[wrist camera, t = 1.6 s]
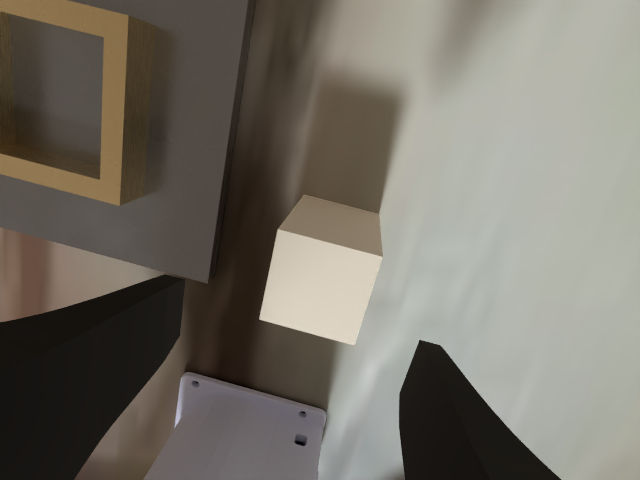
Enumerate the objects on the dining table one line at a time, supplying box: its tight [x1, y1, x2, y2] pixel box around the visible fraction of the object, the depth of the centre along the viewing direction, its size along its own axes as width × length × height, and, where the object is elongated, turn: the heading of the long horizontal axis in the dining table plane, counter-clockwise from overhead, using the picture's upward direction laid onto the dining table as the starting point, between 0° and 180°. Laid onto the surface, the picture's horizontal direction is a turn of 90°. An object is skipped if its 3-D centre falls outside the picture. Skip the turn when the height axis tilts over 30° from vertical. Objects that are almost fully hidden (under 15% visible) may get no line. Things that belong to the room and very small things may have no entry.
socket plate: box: [0, 0, 256, 284], centre depth 18 cm, size 16×16×3 cm
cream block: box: [259, 194, 383, 346], centre depth 17 cm, size 4×4×6 cm
